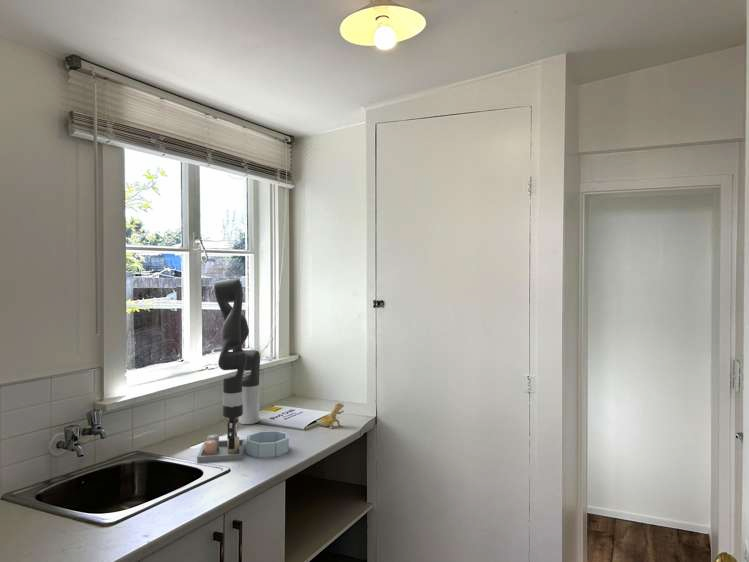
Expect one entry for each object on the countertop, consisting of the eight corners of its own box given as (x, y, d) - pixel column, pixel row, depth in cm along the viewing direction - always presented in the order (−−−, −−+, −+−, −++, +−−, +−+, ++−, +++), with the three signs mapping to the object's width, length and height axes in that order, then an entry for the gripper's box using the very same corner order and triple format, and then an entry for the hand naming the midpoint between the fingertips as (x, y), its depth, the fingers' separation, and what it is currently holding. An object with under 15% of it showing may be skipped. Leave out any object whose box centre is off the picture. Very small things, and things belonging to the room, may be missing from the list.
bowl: (248, 445, 212) (248, 431, 212) (288, 443, 215) (288, 429, 215) (245, 459, 197) (245, 444, 197) (288, 456, 199) (288, 442, 199)
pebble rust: (205, 454, 201) (205, 440, 201) (217, 454, 201) (217, 439, 201) (203, 458, 196) (203, 444, 196) (215, 458, 197) (215, 443, 197)
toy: (345, 424, 232) (339, 401, 235) (315, 433, 236) (310, 411, 239) (351, 423, 238) (345, 401, 241) (321, 432, 242) (316, 411, 245)
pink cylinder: (208, 448, 208) (208, 434, 208) (219, 448, 208) (219, 434, 208) (206, 452, 203) (206, 438, 203) (218, 451, 204) (218, 437, 204)
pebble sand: (228, 450, 206) (228, 436, 205) (239, 450, 206) (239, 436, 206) (226, 454, 201) (226, 440, 201) (238, 453, 202) (238, 439, 202)
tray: (204, 446, 211) (204, 441, 211) (245, 444, 213) (245, 439, 213) (197, 462, 193) (197, 456, 193) (242, 460, 196) (242, 454, 195)
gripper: (224, 399, 210) (224, 440, 210) (220, 408, 196) (220, 451, 196) (244, 398, 211) (244, 439, 211) (241, 407, 197) (241, 450, 197)
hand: (232, 445), depth 203 cm, fingers open, 8 cm apart
